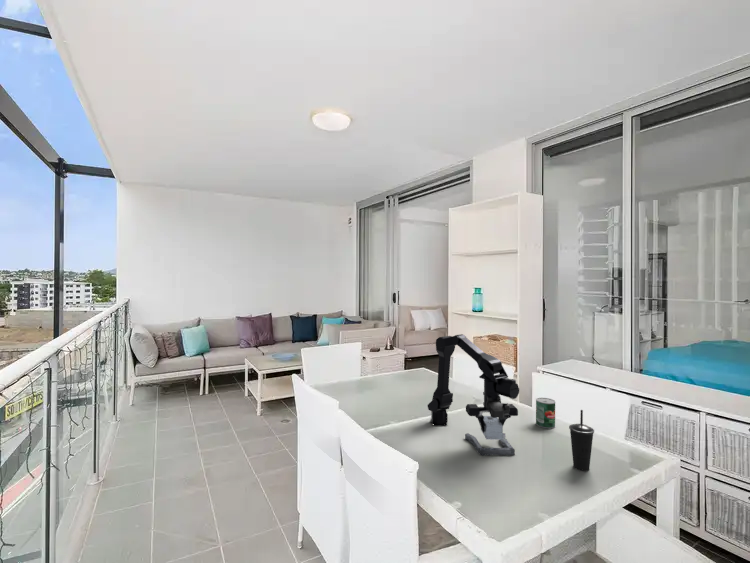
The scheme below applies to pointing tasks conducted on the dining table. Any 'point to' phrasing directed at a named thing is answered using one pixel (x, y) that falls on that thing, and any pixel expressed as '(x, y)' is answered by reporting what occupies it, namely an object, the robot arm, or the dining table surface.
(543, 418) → the canned tomato
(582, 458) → the drinking cup
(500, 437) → the block
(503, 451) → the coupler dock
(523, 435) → the dining table surface
